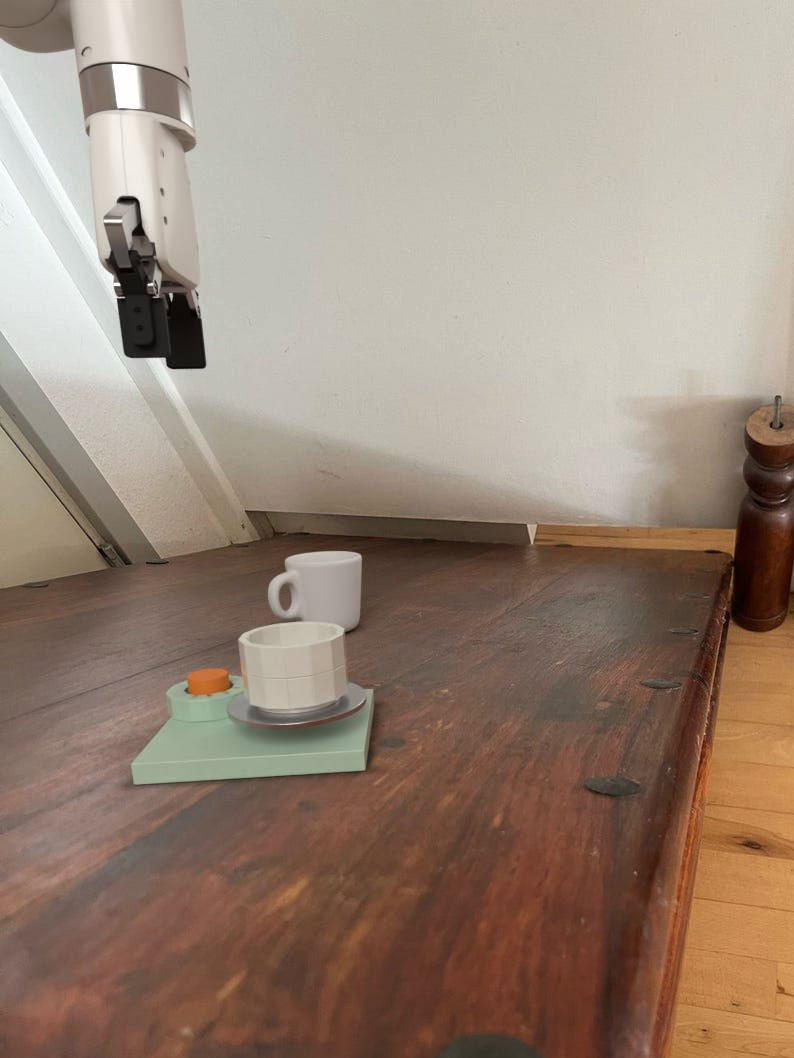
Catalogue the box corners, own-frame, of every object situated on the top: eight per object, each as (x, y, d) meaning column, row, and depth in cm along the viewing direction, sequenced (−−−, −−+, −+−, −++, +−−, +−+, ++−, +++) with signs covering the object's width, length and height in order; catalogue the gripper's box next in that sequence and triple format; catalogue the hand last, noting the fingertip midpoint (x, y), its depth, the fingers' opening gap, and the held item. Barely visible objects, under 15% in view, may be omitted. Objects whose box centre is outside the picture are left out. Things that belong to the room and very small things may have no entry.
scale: (127, 785, 47) (120, 739, 46) (185, 714, 59) (179, 677, 58) (365, 771, 48) (362, 725, 47) (374, 704, 60) (372, 667, 59)
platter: (211, 734, 46) (211, 728, 46) (243, 687, 55) (242, 682, 55) (362, 725, 47) (361, 719, 47) (369, 680, 56) (369, 675, 56)
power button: (184, 699, 54) (181, 681, 54) (195, 686, 57) (192, 669, 56) (225, 697, 54) (222, 678, 54) (233, 684, 57) (231, 667, 57)
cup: (297, 650, 76) (289, 569, 73) (253, 637, 81) (245, 562, 79) (381, 628, 83) (377, 554, 81) (336, 618, 88) (331, 548, 86)
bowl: (236, 720, 47) (228, 650, 46) (257, 686, 54) (250, 623, 53) (344, 714, 48) (339, 644, 47) (352, 681, 54) (347, 619, 53)
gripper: (129, 157, 64) (156, 373, 69) (29, 60, 48) (72, 353, 52) (221, 157, 65) (241, 371, 69) (153, 61, 48) (186, 351, 53)
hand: (169, 363), depth 61 cm, fingers open, 9 cm apart
